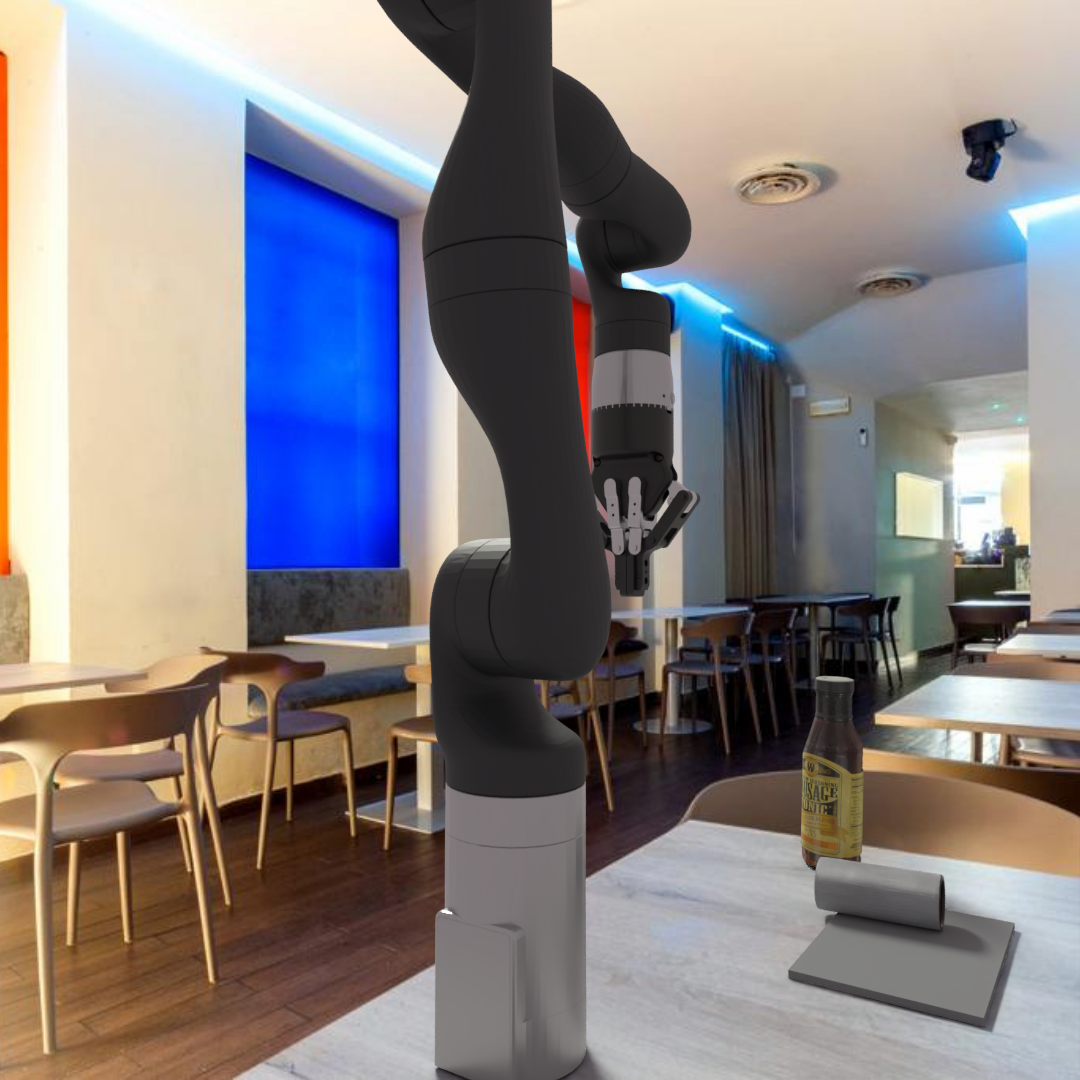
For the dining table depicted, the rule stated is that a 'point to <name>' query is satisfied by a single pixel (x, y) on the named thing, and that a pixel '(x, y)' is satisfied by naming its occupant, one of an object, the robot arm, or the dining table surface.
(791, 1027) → the dining table surface
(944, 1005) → the mat
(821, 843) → the sauce bottle
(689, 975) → the dining table surface
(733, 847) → the dining table surface
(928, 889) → the grey hollow cylinder
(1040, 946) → the dining table surface
